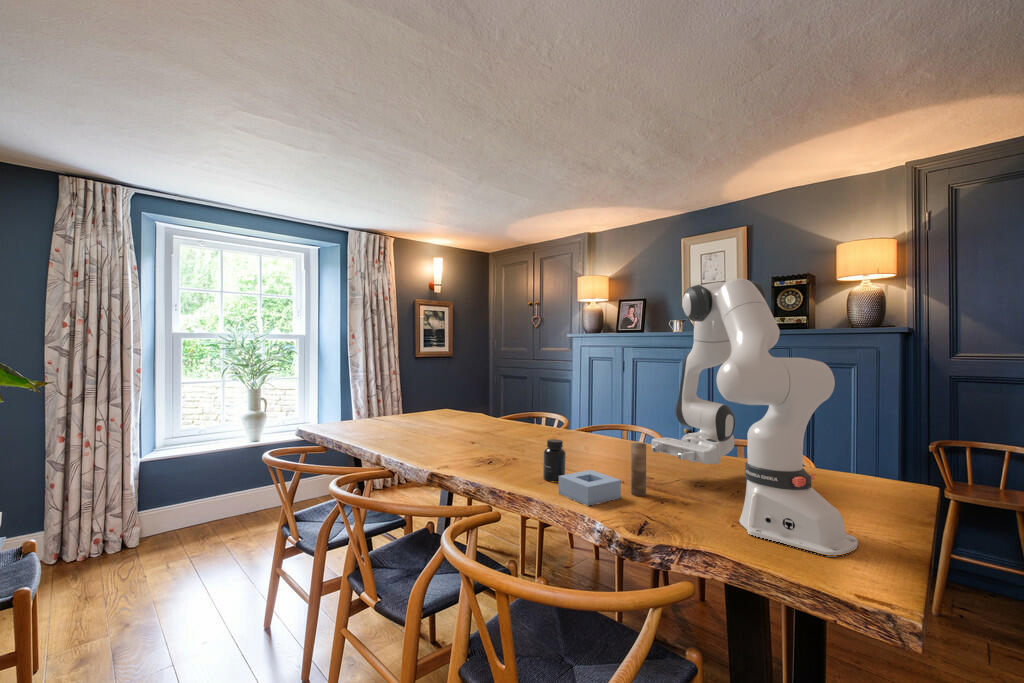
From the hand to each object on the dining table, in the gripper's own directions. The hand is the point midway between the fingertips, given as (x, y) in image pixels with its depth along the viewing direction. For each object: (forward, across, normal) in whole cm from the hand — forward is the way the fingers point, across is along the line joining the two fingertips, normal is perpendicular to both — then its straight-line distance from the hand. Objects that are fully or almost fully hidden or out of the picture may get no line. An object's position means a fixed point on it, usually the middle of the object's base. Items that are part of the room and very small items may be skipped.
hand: (666, 452), depth 136 cm
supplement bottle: (+23, -24, +10) cm, 35 cm away
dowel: (+12, 0, +10) cm, 16 cm away
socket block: (+25, -6, +10) cm, 28 cm away
